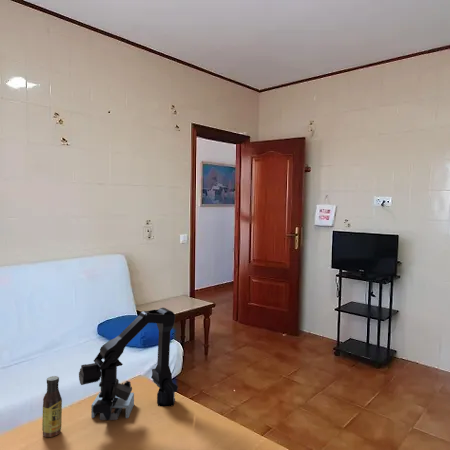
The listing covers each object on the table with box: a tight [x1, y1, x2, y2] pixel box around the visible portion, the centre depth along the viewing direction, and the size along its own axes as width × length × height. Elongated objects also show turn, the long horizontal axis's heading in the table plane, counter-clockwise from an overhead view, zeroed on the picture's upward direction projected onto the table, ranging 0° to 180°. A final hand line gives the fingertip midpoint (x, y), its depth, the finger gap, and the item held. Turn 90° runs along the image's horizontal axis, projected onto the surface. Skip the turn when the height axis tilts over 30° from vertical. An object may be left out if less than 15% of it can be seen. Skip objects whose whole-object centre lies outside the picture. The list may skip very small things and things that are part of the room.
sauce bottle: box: [41, 375, 63, 438], centre depth 137 cm, size 7×6×20 cm
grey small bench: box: [90, 391, 135, 419], centre depth 152 cm, size 14×10×6 cm
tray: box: [99, 408, 123, 421], centre depth 150 cm, size 6×8×3 cm
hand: (107, 419), depth 145 cm, fingers closed
